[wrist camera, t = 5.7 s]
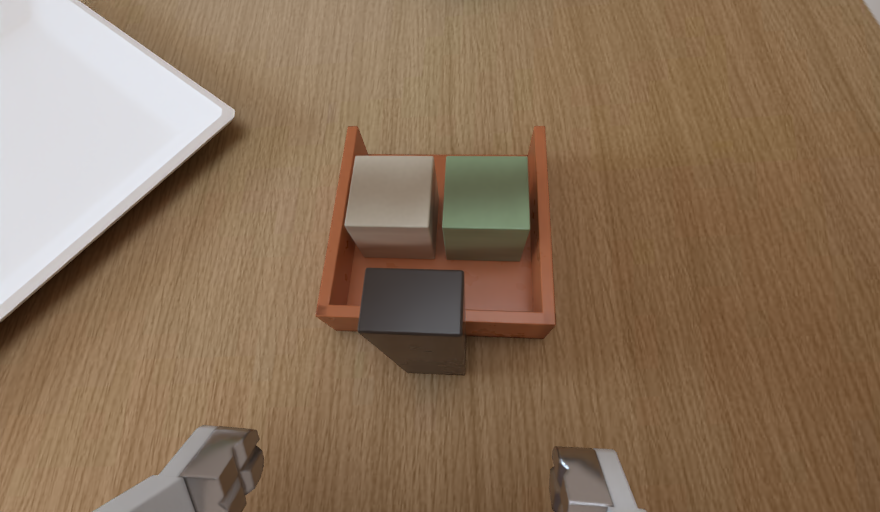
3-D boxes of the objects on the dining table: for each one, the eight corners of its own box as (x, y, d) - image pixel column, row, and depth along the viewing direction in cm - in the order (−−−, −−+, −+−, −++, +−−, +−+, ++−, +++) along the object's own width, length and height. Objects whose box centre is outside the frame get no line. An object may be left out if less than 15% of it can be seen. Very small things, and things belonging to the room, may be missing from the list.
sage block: (520, 262, 22) (530, 229, 18) (446, 260, 22) (441, 227, 19) (518, 197, 23) (528, 155, 20) (449, 196, 24) (446, 155, 20)
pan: (545, 379, 20) (610, 342, 11) (329, 369, 21) (221, 327, 12) (536, 160, 25) (575, 7, 16) (361, 159, 26) (302, 13, 17)
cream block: (435, 259, 22) (428, 227, 19) (363, 258, 23) (343, 226, 19) (439, 196, 24) (433, 155, 20) (372, 195, 24) (354, 154, 20)
